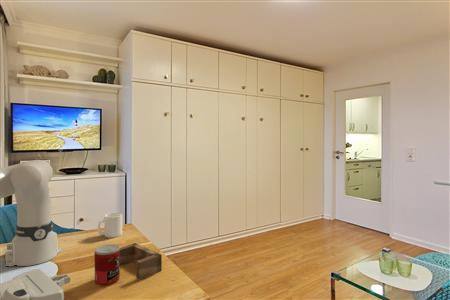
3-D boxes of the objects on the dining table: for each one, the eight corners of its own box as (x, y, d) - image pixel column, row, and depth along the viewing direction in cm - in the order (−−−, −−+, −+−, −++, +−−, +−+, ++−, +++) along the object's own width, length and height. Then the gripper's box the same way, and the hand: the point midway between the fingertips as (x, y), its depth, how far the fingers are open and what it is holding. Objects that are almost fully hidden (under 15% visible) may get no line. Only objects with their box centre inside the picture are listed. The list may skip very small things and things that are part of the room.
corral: (114, 265, 104) (113, 249, 103) (135, 257, 111) (135, 243, 110) (139, 280, 93) (139, 262, 93) (161, 270, 100) (161, 254, 100)
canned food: (111, 287, 88) (110, 253, 88) (89, 284, 90) (88, 251, 89) (124, 276, 96) (124, 245, 95) (104, 273, 97) (103, 243, 97)
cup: (125, 234, 137) (125, 214, 137) (101, 241, 128) (101, 219, 128) (117, 231, 142) (117, 211, 142) (93, 237, 133) (93, 216, 133)
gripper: (2, 295, 79) (55, 276, 90) (23, 326, 66) (83, 300, 77) (1, 273, 79) (55, 257, 90) (23, 300, 66) (82, 278, 77)
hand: (68, 277), depth 83 cm, fingers closed
